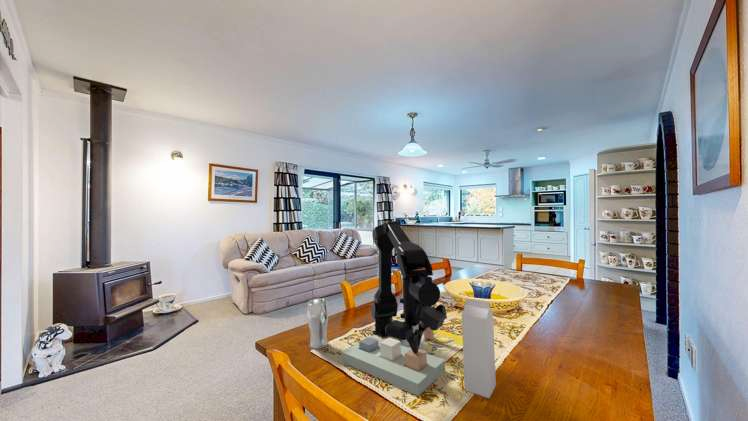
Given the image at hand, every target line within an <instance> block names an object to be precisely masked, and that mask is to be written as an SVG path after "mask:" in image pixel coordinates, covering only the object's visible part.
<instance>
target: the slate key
mask: <svg viewBox="0 0 748 421" xmlns="http://www.w3.org/2000/svg"><path fill="white" fill-rule="evenodd" d="M358 343H359V349H360V350H363V351H366V352H368V353H371V352H372V351H374V350H376V349H377V348H379V345H378V340H376V339H373V338H370V336H367V337H365V338H363V339H361V340H359V342H358Z"/></svg>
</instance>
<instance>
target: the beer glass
mask: <svg viewBox="0 0 748 421" xmlns="http://www.w3.org/2000/svg"><path fill="white" fill-rule="evenodd" d="M306 311H307V312H306V313H307V314H306V315H307V323H308V327H309V333H310V342H309V347H310V348H311V349H312V350H313V349H314V350H320V349H321V350H322V349H324V348H326V347H328V344H329V343H328V342H329V341H328V337H327V328H328V323H329V322H328V321H329V308H328V300H327V299H326V298H320V297H319V298H313V299H309V300H308V301H307V310H306Z"/></svg>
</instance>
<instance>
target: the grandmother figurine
mask: <svg viewBox="0 0 748 421" xmlns="http://www.w3.org/2000/svg"><path fill="white" fill-rule="evenodd" d="M422 337H423V338H422V341H423V342H429V343H436V342H437V339H436V338H435V334H434V330H432V329H430V327H429V328H427V329H426V330H425V331H424V332H423V335H422Z"/></svg>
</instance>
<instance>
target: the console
mask: <svg viewBox="0 0 748 421" xmlns="http://www.w3.org/2000/svg"><path fill="white" fill-rule="evenodd" d="M369 337H370V338H373V339H376V340H378V345H379V348H377V349H376V350H374V351H372V352H371V353H368V352H366V351H363V350H360V349H359V342H357V343H355V344H354V345H351V346H349V347H348V348H346V349H344V350H342V351H341V352H340V355H341V357H340V358H341V362H342V363H343V362H344V363H343V364H346V365H348V366H350V367H353V368H355V369H357V370H360V371H361V372H364V373H365V374H368V375H371V376H373V377H374V378H377V379H378V380H381V381H384V382H386V383H388V384H390V385H392V386H394V387H397V388H399V389H402V390H403V391H406V392H408V393H410V394H412V395H414V396H417V397H419V396H420V395H422V393H423V392H425V391H426V390H427V389H428V388H429V387H430V386H431V385H432V384H433V383H434V382H435V381H436V380H438V379H439V377H440V376H442V374H444V373H445V372H446V360H445V359H443V358H439V357H436V356H434V355H431V354H429V353H426V357H427V366H426V367H425V368H423V369H422V370H421V371H420V372H417V371H415V370H412V369H410V368H407V367H405V353H406V352H407V351H409V350H410V349H411V347H407V346H404V345H401V357H399V358H398V359H396V360H395V361H393V362H391V361H389V360H386V359H384V358H381V349H380V343H381V342H382V341H384V340H385V339H383V338H380V337H377V336H373V335H370V336H369Z"/></svg>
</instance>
